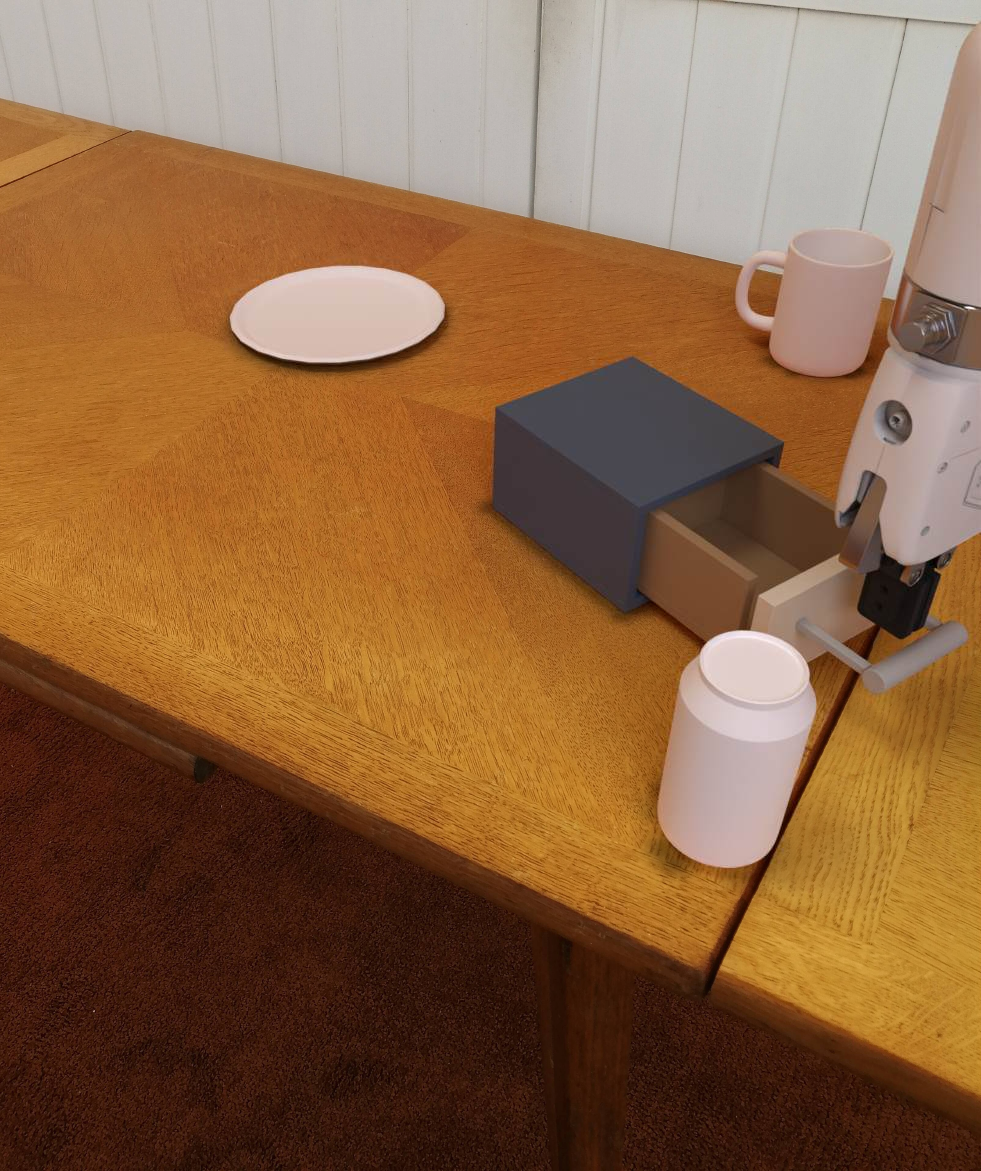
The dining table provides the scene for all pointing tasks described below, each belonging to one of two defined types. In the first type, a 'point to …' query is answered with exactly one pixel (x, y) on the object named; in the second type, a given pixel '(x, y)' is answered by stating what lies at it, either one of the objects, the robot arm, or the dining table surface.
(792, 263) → the cup
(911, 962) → the dining table surface
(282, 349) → the plate
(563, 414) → the cabinet
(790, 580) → the drawer
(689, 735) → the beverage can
